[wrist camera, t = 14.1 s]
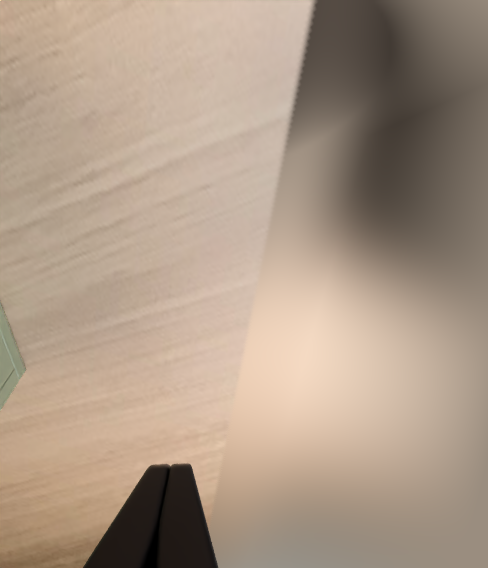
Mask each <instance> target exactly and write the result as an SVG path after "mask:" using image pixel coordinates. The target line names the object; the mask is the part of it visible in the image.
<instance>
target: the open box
mask: <svg viewBox="0 0 488 568" xmlns="http://www.w3.org/2000/svg"><path fill="white" fill-rule="evenodd" d="M25 370H26V368H25V366H24V363H23V361H22V358H21V355H20V353H19V350H18V347H17V345H16V342H15V339H14V337H13V334H12V331H11V329H10V326H9V323H8V321H7V318H6V315H5V313H4V310H3V307H2V305H1V302H0V410H1V409H2V407H3V406H4V404H5V403H6V401H7V399H8V398H9V396H10V395H11V393H12V391H13V390H14V388H15V387H16V385H17V384H18V382H19V379H20V378H21V377H22V375H23V374H24V372H25Z"/></svg>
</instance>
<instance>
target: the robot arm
mask: <svg viewBox="0 0 488 568" xmlns="http://www.w3.org/2000/svg"><path fill="white" fill-rule="evenodd" d="M83 568H218V565H217V561H216V557H215V553H214V550H213V546H212V542H211V538H210V534H209V531H208V527H207V523H206V519H205V515H204V512H203V508H202V504H201V500H200V496H199V493H198V489H197V485H196V481H195V477H194V474H193V470H192V467H191V465H190V464H188V463H187V464H173V465H172V466H171V467H170V465H168V464H161V465H151V466H150V467H148V469H147V470H146V471H145V473H144V475H143V476H142V478H141V479H140V481H139V482H138V484H137V485H136V487H135V488H134V490H133V491H132V493H131V495H130V496H129V498H128V499H127V501H126V502H125V504H124V505H123V507H122V508H121V510H120V511H119V513H118V514H117V516H116V518H115V519H114V521H113V522H112V524H111V525H110V527H109V528H108V530H107V531H106V533H105V534H104V536H103V537H102V539H101V541H100V542H99V544H98V545H97V547H96V548H95V550H94V551H93V553H92V554H91V556H90V557H89V559H88V561H87V562H86V564H85V565H84V567H83Z"/></svg>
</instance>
